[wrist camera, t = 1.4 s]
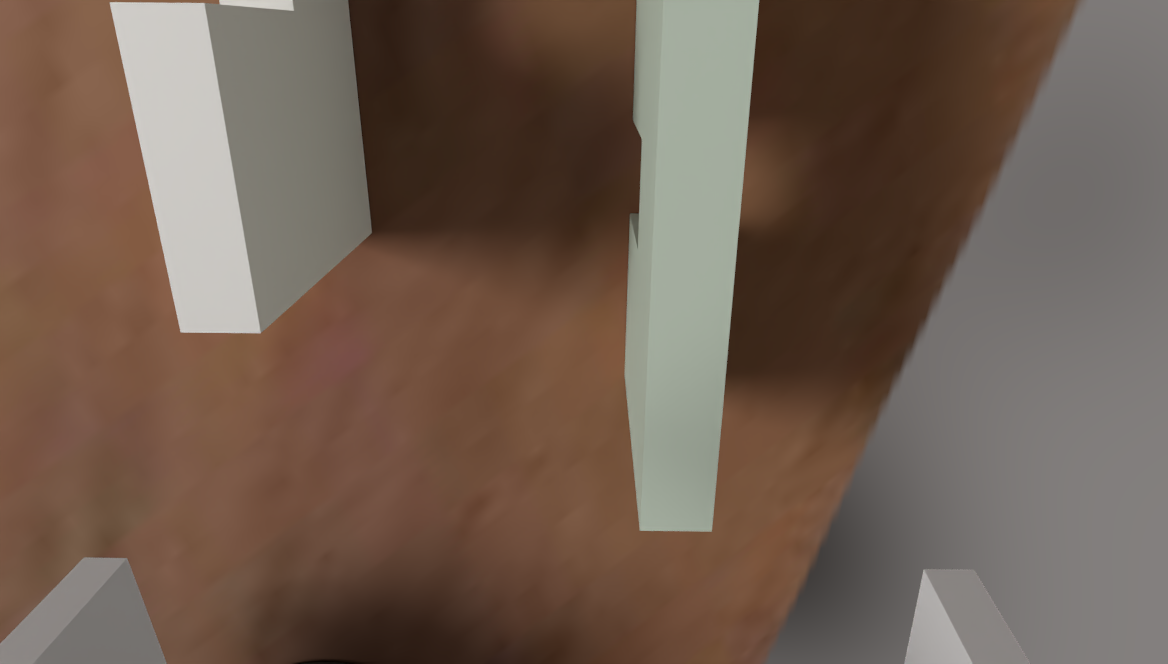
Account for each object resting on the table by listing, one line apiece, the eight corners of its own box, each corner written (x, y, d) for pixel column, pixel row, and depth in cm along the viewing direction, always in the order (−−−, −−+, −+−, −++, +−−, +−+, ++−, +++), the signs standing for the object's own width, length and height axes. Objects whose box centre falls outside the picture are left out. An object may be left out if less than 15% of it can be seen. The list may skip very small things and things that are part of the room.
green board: (674, 376, 36) (711, 531, 24) (624, 375, 36) (639, 530, 24) (702, -95, 28) (775, -181, 17) (639, -96, 28) (671, -182, 17)
